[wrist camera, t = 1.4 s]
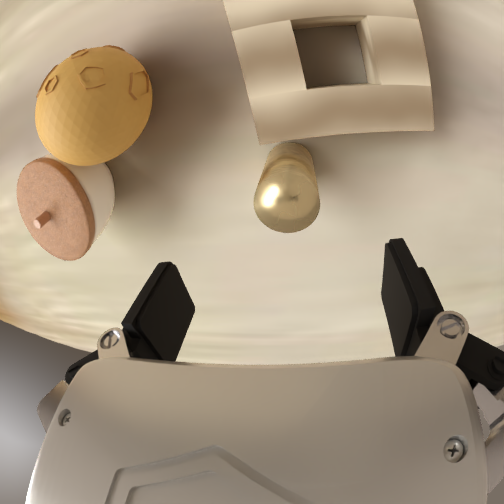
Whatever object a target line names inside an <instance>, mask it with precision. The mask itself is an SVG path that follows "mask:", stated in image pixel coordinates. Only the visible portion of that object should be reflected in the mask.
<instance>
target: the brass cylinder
mask: <svg viewBox="0 0 504 504" xmlns="http://www.w3.org/2000/svg"><path fill="white" fill-rule="evenodd" d="M254 209H255V212H256V214H257V216H258V218H259V219H260V220H261V222H262V223H263V224H265V225H266V226H267V227H269V228H271V229H272V230H275V231H278V232H283V233H293V232H297V231H301V230H303V229H305V228H307V227H308V226H309V225H311V224H312V223H313V221H314V220H315V219H316V217H317V215H318V213H319V209H320V199H319V193H318V187H317V181H316V175H315V170H314V164H313V159H312V156H311V154H310V153H309V151H308V150H307V149H306V148H305V147H303V146H302V145H300V144H297V143H293V142H285V143H281V144H279V145H277V146H275V147H274V148H273V149H272V150H271V151H270V153H269V155H268V157H267V160H266V163H265V166H264V169H263V172H262V175H261V178H260V180H259V183H258V186H257V189H256V192H255V196H254Z"/></svg>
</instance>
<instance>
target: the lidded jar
mask: <svg viewBox="0 0 504 504" xmlns="http://www.w3.org/2000/svg"><path fill="white" fill-rule="evenodd" d="M17 201H18V206H19V210H20V213H21V216H22V218H23V221H24V223H25V225H26V227H27V229H28V230H29V232H30V233H31V235H32V236H33V238H34V239H35V240H36V241H37V242H38V244H39V245H40V246H41V247H42V248H43V249H45V250H46V251H47V252H49V253H50V254H52V255H53V256H55V257H57V258H60V259H63V260H77V259H79V258H81V257H82V256H84V255H85V253H86V252H87V251H88V250H89V249H90V247H91V245H92V244H93V243H94V242H95V241H96V239H97V238H98V237H99V236H100V235H101V233H102V232H103V230H104V229H105V227H106V225H107V223H108V221H109V220H110V217H111V214H112V211H113V208H114V201H115V190H114V182H113V177H112V174H111V172H110V170H109V168H108V167H107V165H106V164H105V163H101V164H97V165H91V166H77V165H73V164H68V163H66V162H64V161H61V160H59V159H58V158H56V157H55V156H53V155H52V154H51V153H50V154H47V155H45V156H44V157H42V158H39V159H36V160H34V161H32V162H30V163H29V164H27V165H26V166H25V167H24V168H23V170H22V172H21V173H20V176H19V179H18V183H17Z"/></svg>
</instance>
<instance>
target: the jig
mask: <svg viewBox="0 0 504 504" xmlns="http://www.w3.org/2000/svg"><path fill="white" fill-rule="evenodd" d="M223 4H224V7H225V10H226V14H227V18H228V21H229V25H230V28H231V32H232V36H233V39H234V43H235V47H236V50H237V54H238V58H239V62H240V66H241V70H242V73H243V77H244V81H245V85H246V89H247V93H248V97H249V101H250V106H251V110H252V114H253V118H254V122H255V126H256V131H257V135H258V139H259V144H260V145H263V144H269V143H275V142H282V141H289V140H296V139H303V138H311V137H320V136H329V135H340V134H352V133H366V132H387V131H434V114H433V101H432V91H431V82H430V75H429V68H428V62H427V56H426V50H425V45H424V40H423V36H422V31H421V27H420V23H419V19H418V15H417V12H416V8H415V5H414V1H413V0H223ZM342 25H356V29H357V33H358V38H359V42H360V46H361V51H362V56H363V60H364V66H365V71H366V77H367V82H368V83H359V84H341V85H329V86H319V87H310V88H306V84H305V79H304V74H303V70H302V65H301V61H300V57H299V53H298V49H297V45H296V41H295V37H294V33H293V30H295V29H303V28H312V27H324V26H342Z"/></svg>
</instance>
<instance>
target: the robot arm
mask: <svg viewBox="0 0 504 504" xmlns="http://www.w3.org/2000/svg"><path fill="white" fill-rule="evenodd" d="M381 296H382V302H383V305H384V309H385V313H386V317H387V321H388V325H389V329H390V334H391V338H392V342H393V347H394V352H395V357H385V358H374V359H364V360H353V361H340V362H328V363H311V364H286V365H230V364H205V363H188V362H175V361H176V358H177V356H178V353H179V351H180V348H181V346H182V343H183V340H184V338H185V335H186V333H187V330H188V328H189V325H190V323H191V320H192V318H193V315H194V313H195V306H194V304H193V302H192V299H191V297H190V295H189V293H188V291H187V289H186V287H185V284H184V282H183V280H182V278H181V276H180V273H179V271H178V269H177V267H176V265H174V264H173V263H172V262H161V263H159V264H158V265H157V266H156V268H155V269H154V271H153V273H152V274H151V276H150V277H149V279H148V280H147V282H146V283H145V285H144V287H143V288H142V290H141V291H140V293H139V295H138V296H137V298H136V300H135V301H134V303H133V304H132V306H131V308H130V309H129V311H128V313H127V314H126V316H125V318H124V319H123V321H122V323H121V324H122V326H123V329H122V330H121V329H120V328H111V329H109V330H107V331H105V332H104V333H103V334H102V335H101V336H100V338H99V339H98V342H97V349H98V350H96V351H94V352H93V353H91V354H89V355H88V356H86V357H84V358H83V359H81V360H79V361H78V362H76V363H74V364H73V365H71V366H70V367H69V369H68V370H67V372H66V376H65V380H66V381H63V380H62V381H61V382H60V383H59V384H57V385H56V386H55V387H54V388H53V389H52V390H51V391H50V392H49V393H48V394H47V395H46V396H45V397H44V398H43V399H42V400H41V401H40V403H39V405H38V408H37V412H38V415H39V417H40V420H41V422H42V425H43V427H44V429H45V431H46V436H45V438H44V441H43V444H42V447H41V449H40V452H39V455H38V458H37V461H36V465H35V468H34V471H33V475H32V478H31V482H30V486H29V490H28V494H27V499H26V504H487V495H488V494H489V493H490V491H492V490H493V488H494V487H495V486H496V485H497V484H498V483H499V482H500V480H502V478H503V477H504V352H503V351H501V350H500V349H498V348H496V347H494V346H492V345H490V344H489V343H487V342H485V341H483V340H481V339H479V338H477V337H475V336H474V335H472V334H470V333H468V331H469V326H468V322H467V320H466V319H465V318H464V317H463V316H462V315H461V314H459V313H457V312H454V311H444V309H443V307H442V304H441V302H440V300H439V298H438V296H437V293H436V291H435V289H434V287H433V285H432V283H431V281H430V279H429V277H428V275H427V273H426V271H425V269H424V268H423V267H419V268H418V266H417V264H416V262H415V260H414V258H413V256H412V254H411V252H410V250H409V249H408V247H407V245H406V243H405V241H404V239H403V238H398V239H390V240H389V243H386V244H385V255H384V269H383V281H382V291H381ZM478 409H481V410H482V411H483V412H484V415H483V417H484V418H485V419H486V420H487V422H488V424H489V427H490V432H489V436H488V438H487V439H486V441H485V442H484V434H483V429H482V424H481V419H480V414H479V410H478ZM454 447H455V449H454Z"/></svg>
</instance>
